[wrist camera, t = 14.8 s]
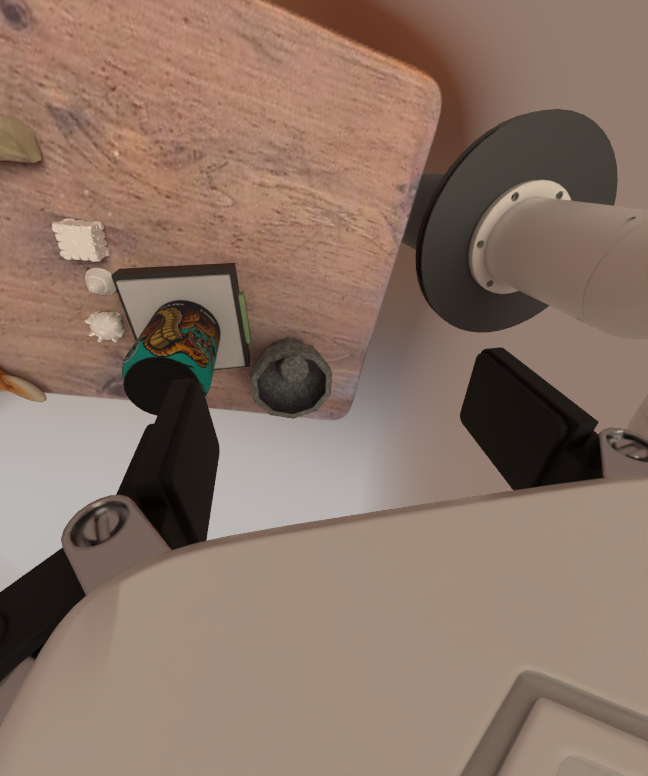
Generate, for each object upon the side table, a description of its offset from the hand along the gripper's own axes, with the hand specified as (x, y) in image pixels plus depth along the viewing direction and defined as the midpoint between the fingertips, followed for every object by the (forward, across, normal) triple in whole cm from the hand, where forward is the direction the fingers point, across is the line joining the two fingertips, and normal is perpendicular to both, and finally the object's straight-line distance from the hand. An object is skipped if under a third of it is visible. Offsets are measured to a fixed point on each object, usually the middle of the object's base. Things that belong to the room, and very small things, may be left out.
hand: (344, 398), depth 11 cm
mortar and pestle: (+30, +1, +14) cm, 33 cm away
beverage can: (+27, +12, +8) cm, 30 cm away
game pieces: (+30, +20, +3) cm, 36 cm away
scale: (+30, +12, +8) cm, 33 cm away
